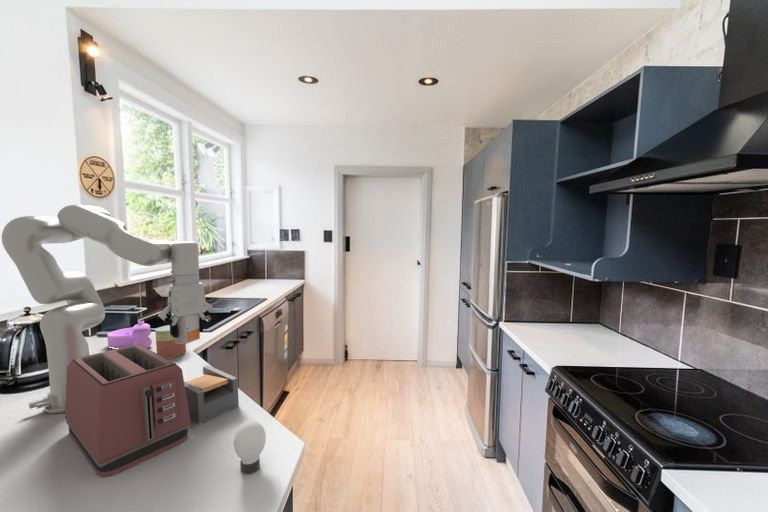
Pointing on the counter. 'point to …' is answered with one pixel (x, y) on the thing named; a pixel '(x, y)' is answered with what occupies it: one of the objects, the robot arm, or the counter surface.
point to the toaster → (125, 407)
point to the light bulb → (249, 445)
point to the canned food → (167, 343)
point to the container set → (131, 336)
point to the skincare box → (188, 329)
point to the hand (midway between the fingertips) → (187, 333)
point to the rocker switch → (206, 382)
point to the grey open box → (212, 397)
